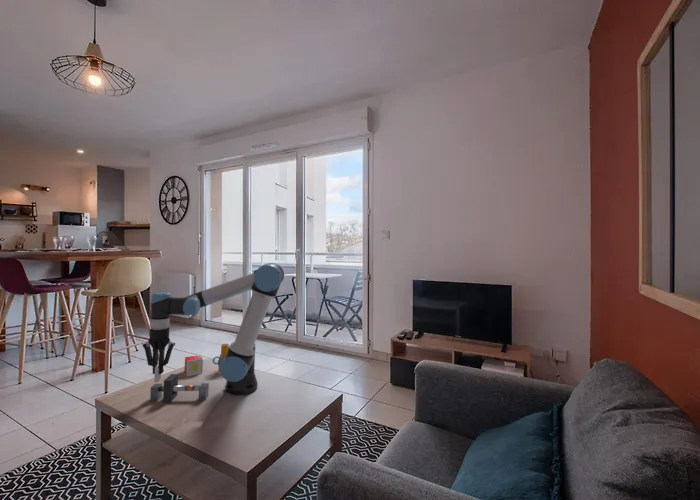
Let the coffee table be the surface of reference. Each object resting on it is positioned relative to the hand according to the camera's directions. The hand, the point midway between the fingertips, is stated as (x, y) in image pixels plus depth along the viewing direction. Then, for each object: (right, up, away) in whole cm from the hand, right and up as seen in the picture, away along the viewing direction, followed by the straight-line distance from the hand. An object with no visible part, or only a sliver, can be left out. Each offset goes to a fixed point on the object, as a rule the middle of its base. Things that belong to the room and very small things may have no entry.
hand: (157, 380), depth 145 cm
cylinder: (+15, -10, +38) cm, 42 cm away
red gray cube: (-1, -10, +35) cm, 37 cm away
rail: (+9, -10, +1) cm, 14 cm away
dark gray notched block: (+5, -8, +1) cm, 10 cm away
